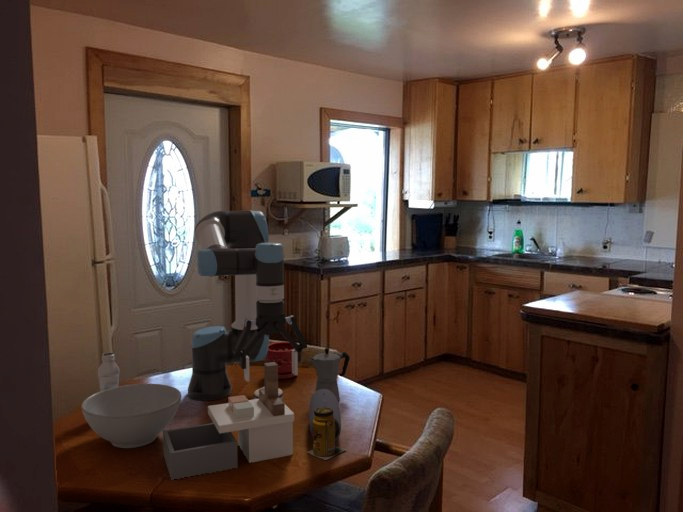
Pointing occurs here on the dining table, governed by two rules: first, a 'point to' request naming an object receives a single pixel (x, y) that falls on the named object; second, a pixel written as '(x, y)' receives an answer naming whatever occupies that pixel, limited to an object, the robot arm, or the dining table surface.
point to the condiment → (324, 434)
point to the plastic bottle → (108, 372)
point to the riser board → (257, 430)
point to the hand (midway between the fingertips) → (271, 377)
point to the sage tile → (243, 410)
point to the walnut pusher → (271, 390)
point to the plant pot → (281, 358)
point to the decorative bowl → (131, 413)
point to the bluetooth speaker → (325, 400)
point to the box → (198, 450)
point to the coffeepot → (329, 370)
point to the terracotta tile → (236, 400)
